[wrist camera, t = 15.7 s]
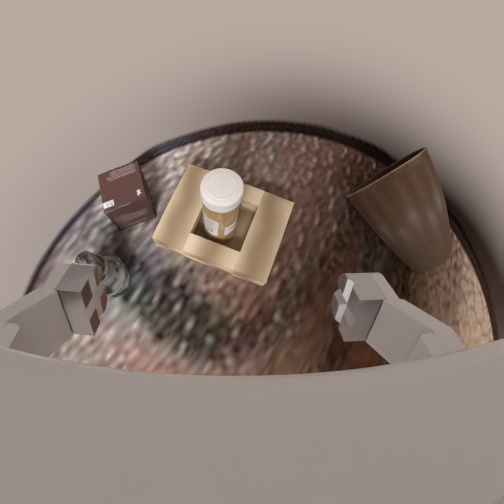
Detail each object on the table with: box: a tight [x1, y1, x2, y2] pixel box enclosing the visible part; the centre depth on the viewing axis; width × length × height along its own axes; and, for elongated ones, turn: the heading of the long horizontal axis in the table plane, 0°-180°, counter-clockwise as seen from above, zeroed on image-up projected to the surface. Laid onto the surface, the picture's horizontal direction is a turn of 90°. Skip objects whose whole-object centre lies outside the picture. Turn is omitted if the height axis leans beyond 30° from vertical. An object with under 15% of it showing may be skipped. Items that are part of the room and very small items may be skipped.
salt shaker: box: [75, 251, 130, 297], centre depth 34 cm, size 6×6×12 cm
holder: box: [152, 164, 294, 286], centre depth 42 cm, size 16×12×4 cm
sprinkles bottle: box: [200, 168, 244, 243], centre depth 36 cm, size 5×5×13 cm
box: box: [98, 161, 156, 230], centre depth 39 cm, size 6×6×7 cm
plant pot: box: [346, 147, 452, 273], centre depth 41 cm, size 15×15×16 cm
